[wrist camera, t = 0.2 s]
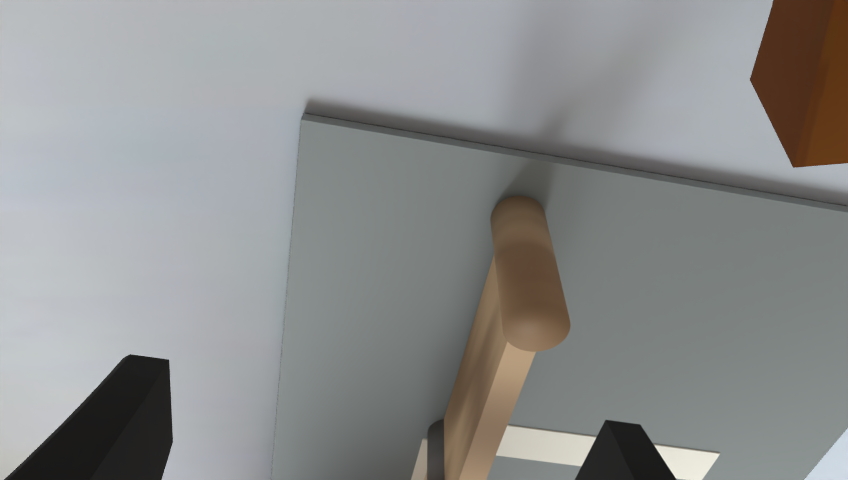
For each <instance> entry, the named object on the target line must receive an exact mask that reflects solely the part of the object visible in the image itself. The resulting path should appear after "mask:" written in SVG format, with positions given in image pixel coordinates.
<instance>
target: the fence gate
mask: <svg viewBox="0 0 848 480" xmlns="http://www.w3.org/2000/svg"><path fill="white" fill-rule="evenodd" d="M490 222H491V231H492V239H493V248H494V256H493V259H492V263H491V266H490V269H489V272H488V276H487V279H486V282H485V286H484V289H483V292H482V295H481V299H480V302H479V305H478V309H477V312H476V315H475V318H474V322H473V325H472V328H471V332H470V335H469V338H468V342H467V345H466V348H465V351H464V355H463V358H462V361H461V365H460V368H459V371H458V374H457V378H456V381H455V384H454V388H453V391H452V394H451V397H450V401H449V404H448V407H447V411H446V414H445V417H444V467H445V480H486V479H487V476H488V473H489V471H490V468H491V466H492V463H493V461H494V458H495V456H496V453H497V450H498V448H499V445H500V443H501V440H502V438H503V435H504V432H505V430H506V427H507V425H508V422H509V420H510V417H511V415H512V412H513V409H514V407H515V404H516V402H517V399H518V397H519V394H520V391H521V389H522V386H523V384H524V381H525V379H526V376H527V373H528V371H529V368H530V366H531V363H532V361H533V358H534V356H535V353H536V352H538V351H544V350H548V349H551V348H553V347H555V346H557V345H558V344H560V343H561V342H562V341H563V340H564V339H565V338H566V337H567V335H568V333H569V331H570V326H571V323H570V318H569V314H568V310H567V305H566V301H565V297H564V292H563V288H562V284H561V280H560V275H559V271H558V267H557V262H556V258H555V254H554V250H553V245H552V241H551V237H550V232H549V228H548V224H547V220H546V215H545V211H544V209H543V207H542V206H541V204H540V203H539V202H538V201H536V200H534V199H532V198H530V197H526V196H513V197H509V198H507V199H505V200H503V201H501V202H500V203H499V204H498V205H497V206H496V207H495V208H494V209H493V211H492V214H491V218H490Z"/></svg>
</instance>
